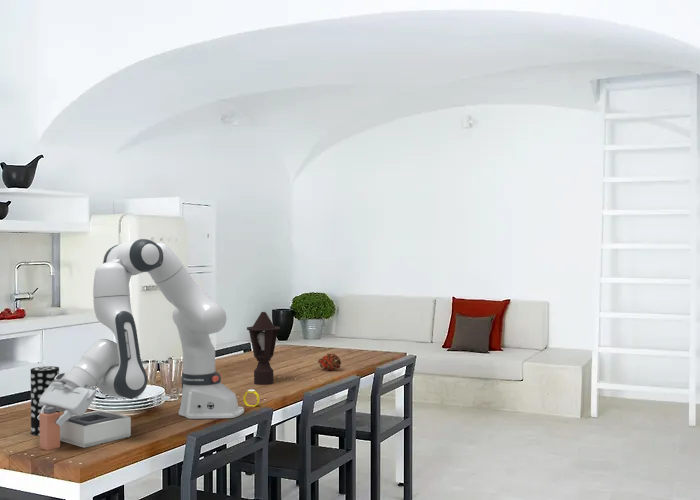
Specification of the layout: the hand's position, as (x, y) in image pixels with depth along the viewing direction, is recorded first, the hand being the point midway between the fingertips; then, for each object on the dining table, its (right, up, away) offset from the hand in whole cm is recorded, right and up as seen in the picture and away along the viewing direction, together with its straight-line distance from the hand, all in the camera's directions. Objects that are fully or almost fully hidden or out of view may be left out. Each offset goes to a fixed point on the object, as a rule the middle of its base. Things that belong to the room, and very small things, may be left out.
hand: (48, 422), depth 219 cm
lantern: (+51, -6, +99) cm, 112 cm away
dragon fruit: (+78, -6, +131) cm, 152 cm away
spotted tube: (-8, -7, +18) cm, 21 cm away
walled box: (+9, -7, +11) cm, 16 cm away
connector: (0, -7, 0) cm, 7 cm away
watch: (+52, -7, +55) cm, 76 cm away
